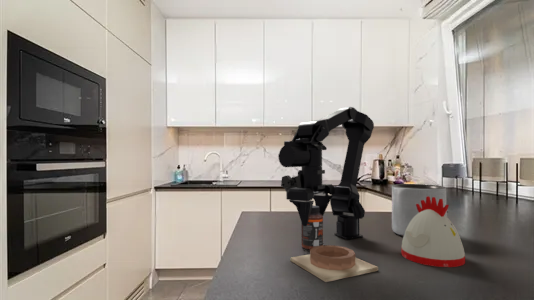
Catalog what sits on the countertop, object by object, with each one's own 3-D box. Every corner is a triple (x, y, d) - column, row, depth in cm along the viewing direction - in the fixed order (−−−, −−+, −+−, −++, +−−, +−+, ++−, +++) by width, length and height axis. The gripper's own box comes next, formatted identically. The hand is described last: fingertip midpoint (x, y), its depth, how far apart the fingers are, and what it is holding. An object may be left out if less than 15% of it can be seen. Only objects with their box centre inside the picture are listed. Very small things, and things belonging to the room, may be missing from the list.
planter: (456, 242, 89) (455, 188, 90) (398, 239, 92) (397, 188, 93) (436, 229, 105) (435, 184, 105) (387, 227, 108) (386, 183, 108)
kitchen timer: (441, 271, 67) (440, 202, 67) (389, 253, 79) (388, 195, 79) (477, 261, 73) (476, 198, 73) (424, 246, 85) (423, 192, 86)
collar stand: (337, 252, 80) (337, 240, 80) (378, 270, 67) (377, 255, 67) (290, 260, 73) (290, 247, 74) (325, 282, 61) (325, 265, 61)
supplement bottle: (323, 251, 81) (322, 208, 81) (300, 250, 82) (300, 207, 82) (323, 244, 87) (323, 204, 87) (302, 243, 88) (302, 204, 88)
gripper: (301, 165, 97) (302, 214, 97) (269, 167, 82) (269, 225, 82) (335, 165, 91) (335, 218, 91) (306, 167, 76) (306, 231, 75)
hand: (312, 222), depth 85 cm, fingers open, 9 cm apart
